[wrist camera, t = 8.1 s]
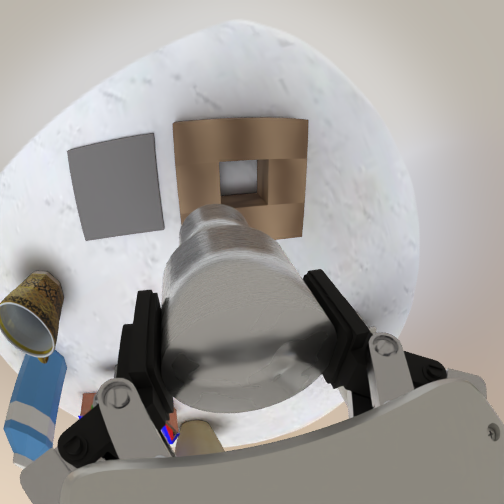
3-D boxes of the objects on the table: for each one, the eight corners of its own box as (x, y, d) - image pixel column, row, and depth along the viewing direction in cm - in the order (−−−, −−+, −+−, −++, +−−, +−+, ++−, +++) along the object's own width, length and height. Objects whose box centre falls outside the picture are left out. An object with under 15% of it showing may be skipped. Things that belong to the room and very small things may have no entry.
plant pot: (225, 412, 59) (238, 467, 45) (219, 433, 65) (230, 480, 52) (165, 413, 54) (171, 471, 41) (168, 435, 61) (174, 483, 47)
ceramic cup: (15, 259, 29) (-15, 298, 20) (65, 261, 32) (40, 305, 23) (37, 323, 35) (19, 365, 26) (83, 328, 38) (70, 374, 29)
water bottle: (43, 372, 40) (24, 472, 19) (20, 342, 36) (-12, 449, 14) (75, 371, 42) (61, 482, 21) (52, 340, 37) (23, 462, 16)
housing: (291, 118, 30) (308, 119, 26) (288, 221, 37) (302, 236, 33) (174, 122, 27) (172, 123, 23) (184, 232, 34) (184, 250, 30)
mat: (153, 133, 27) (153, 133, 27) (164, 227, 33) (164, 229, 33) (69, 150, 25) (67, 150, 25) (86, 238, 31) (85, 240, 31)
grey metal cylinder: (263, 187, 16) (355, 286, 8) (260, 272, 19) (318, 394, 10) (160, 195, 15) (139, 317, 6) (172, 282, 18) (180, 420, 9)
